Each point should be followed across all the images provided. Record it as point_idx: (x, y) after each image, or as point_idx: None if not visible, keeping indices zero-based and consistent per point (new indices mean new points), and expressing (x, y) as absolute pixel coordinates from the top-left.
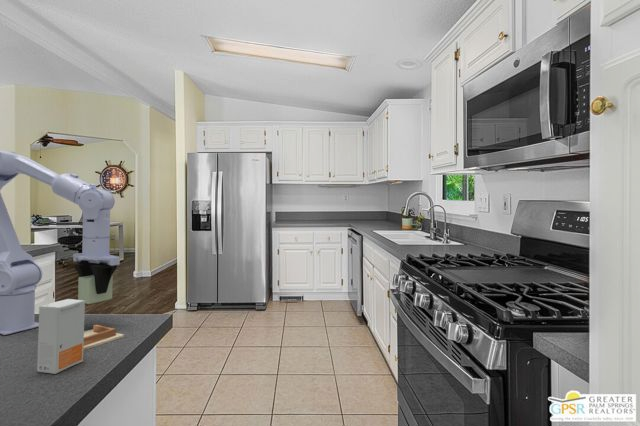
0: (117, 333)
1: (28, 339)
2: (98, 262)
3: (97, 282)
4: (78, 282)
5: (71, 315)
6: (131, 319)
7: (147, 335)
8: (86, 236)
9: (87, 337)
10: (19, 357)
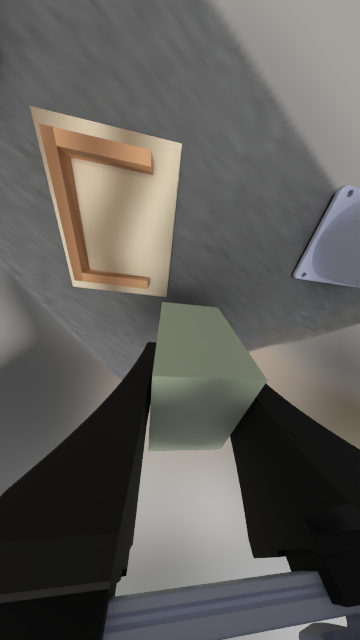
0: (93, 287)
1: (259, 188)
2: (163, 613)
3: (129, 376)
4: (248, 354)
5: None
6: None
7: (47, 307)
8: None
9: (56, 191)
10: (151, 5)
